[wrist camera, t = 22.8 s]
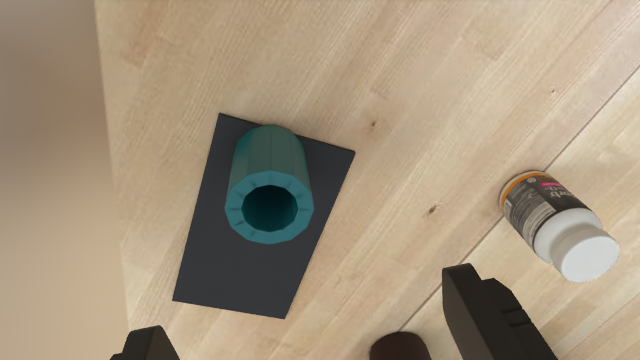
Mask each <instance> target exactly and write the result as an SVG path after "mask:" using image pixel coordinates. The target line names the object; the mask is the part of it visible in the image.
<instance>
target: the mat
mask: <svg viewBox="0 0 640 360" xmlns="http://www.w3.org/2000/svg"><path fill="white" fill-rule="evenodd" d="M262 126H264V125H260V124H257V123H253V122H249V121H246V120H242V119H239V118H235V117H232V116H228V115H225V114H221V113H219V116H218V120H217V124H216V128H215V132H214V136H213V140H212V144H211V148H210V152H209V156H208V160H207V164H206V168H205V172H204V176H203V180H202V184H201V187H200V191H199V195H198V199H197V203H196V207H195V211H194V215H193V219H192V223H191V227H190V231H189V235H188V239H187V243H186V247H185V251H184V255H183V259H182V263H181V267H180V271H179V275H178V279H177V283H176V287H175V291H174V295H173V299H172V301H177V302H183V303H189V304H195V305H201V306H207V307H213V308H219V309H225V310H231V311H237V312H243V313H250V314H256V315H262V316H268V317H274V318H280V319H285V317H286V315H287V313H288V310H289V308H290V306H291V303H292V301H293V299H294V296H295V294H296V292H297V289H298V287H299V285H300V282H301V280H302V278H303V275H304V273H305V271H306V268H307V266H308V264H309V261H310V259H311V256H312V254H313V252H314V249H315V247H316V245H317V242H318V240H319V238H320V235H321V233H322V231H323V228H324V226H325V224H326V221H327V219H328V217H329V214H330V212H331V210H332V207H333V205H334V203H335V200H336V198H337V196H338V193H339V191H340V189H341V186H342V184H343V182H344V179H345V177H346V175H347V172H348V170H349V168H350V165H351V163H352V161H353V158H354V156H355V151H352V150H348V149H345V148H341V147H338V146H334V145H331V144H327V143H324V142H320V141H317V140H313V139H310V138H306V137H302V136H299V135H295V134H294V135H295V136H296V137H297V138H298V139H299V140H300V141H301V142H302V144H303V149H304V153H305V157H306V163H307V169H308V175H309V181H310V187H311V193H312V198H313V204H314V211H313V214H312V216H311V219H310V221H309V224H308V226H307V228H306V229H304V230H303V231H302V232H301V233H299V234H298V235H297V236H295V237H294V238H293V239H291V240H288V241H283V242H279V243H274V244H264V243H259V242H254V241H250V240H247V239H246V238H244V237H243V236H242V235H240V234H239V233H238V232H237V231H235V230H234V229H233V228H232V227H231V225H230V223H229V220H228V217H227V214H226V212H225V203H226V197H227V191H228V185H229V179H230V173H231V167H232V161H233V156H234V152H235V149H236V145H237V142H238V140H239V139H240V138H242V137H243V136H244V135H245V134H246V133H247V132H248V131H250V130H251V129H253V128H257V127H262Z"/></svg>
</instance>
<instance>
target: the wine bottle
mask: <svg viewBox="0 0 640 360" xmlns="http://www.w3.org/2000/svg"><path fill="white" fill-rule="evenodd" d="M370 360H431V357H430V354H429V352H428V349H427V347H426V345H425V343H424V342H423V340H422V339H421V338H420V337H418V336H416V335H414V334H410V333H395V334H392V335H389V336H386V337H384V338H382V339H380V340H379V341H378V342H377V343H376V344H375V345H374V346H373V347H372V349H371V351H370Z"/></svg>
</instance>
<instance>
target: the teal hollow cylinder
mask: <svg viewBox="0 0 640 360" xmlns="http://www.w3.org/2000/svg"><path fill="white" fill-rule="evenodd" d="M313 211H314V204H313V198H312V193H311V187H310V181H309V175H308V169H307V163H306V157H305V153H304V149H303V144H302V142H301V141H300V140H299V139H298V138H297V137H296V136H295V135H294V134H293V133H292V132H291V131H290V130H288V129H284V128H281V127H277V126H274V125H267V126H262V127H257V128H253V129H251V130H250V131H248V132H247V133H246V134H245V135H244V136H243V137H242V138H240V139H239V140H238V142H237V145H236V149H235V152H234V156H233V161H232V167H231V173H230V179H229V185H228V191H227V197H226V203H225V212H226V214H227V217H228V220H229V223H230V225H231V227H232V228H233V229H234V230H235V231H237V232H238V233H239V234H240V235H242V236H243V237H244V238H246V239H247V240H250V241H254V242H259V243H264V244H274V243H279V242H283V241H288V240H291V239H293V238H294V237H295V236H297V235H298V234H299V233H301V232H302V231H303V230H304V229H306V228H307V226H308V224H309V221H310V219H311V216H312V214H313Z"/></svg>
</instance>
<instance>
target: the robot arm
mask: <svg viewBox="0 0 640 360" xmlns="http://www.w3.org/2000/svg"><path fill="white" fill-rule="evenodd" d="M442 295H443V310H444V315H445V318H446V322H447V324H448V327H449V329H450V331H451V334H452V336H453V338H454V340H455V342H456V345H457V347H458V349H459V351H460V353H461V355H462V358H463V360H558V359H557V358H556V356H555V355H554V353H553V352H552V350H551V349H550V347H549V346H548V344H547V343H546V341H545V340H544V338H543V337H542V336H541V334H540V333H539V331H538V330H537V328H536V327H535V325H534V324H533V323H531V319H530V318H529V316H528V315H527V313H526V312H525V310H523V309H522V306H521V305H520V303H519V302H518V300H517V299H516V297H515V296H514V294H513V293H512V291H511V290H510V289H508V288H507V287H506V286H504V285H503V284H502V283H500V282H499V281H497V280H496V279H495V278H491V279H486V280H481V278H480V277H479V275H478V274H477V272H476V270H475V269H474V267H473V266H472V265H471V264H470V263H466V264H461V265H456V266H451V267H446V268H443V269H442ZM110 360H180V359H179V356H178V355H177V353H176V351H175V349H174V347H173V345H172V344H171V342H170V340H169V338H168V336H167V335H166V333H165V331H164V329H163V328H162V327H161V326H160V325H158V326H153V327H148V328H143V329H138V330H133V331H131V332H130V333H129V335H128V337H127V340H126V342H125V345H124V348H123V351H122V353H119V354H114V355H113V356H112V357H111V359H110Z"/></svg>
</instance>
